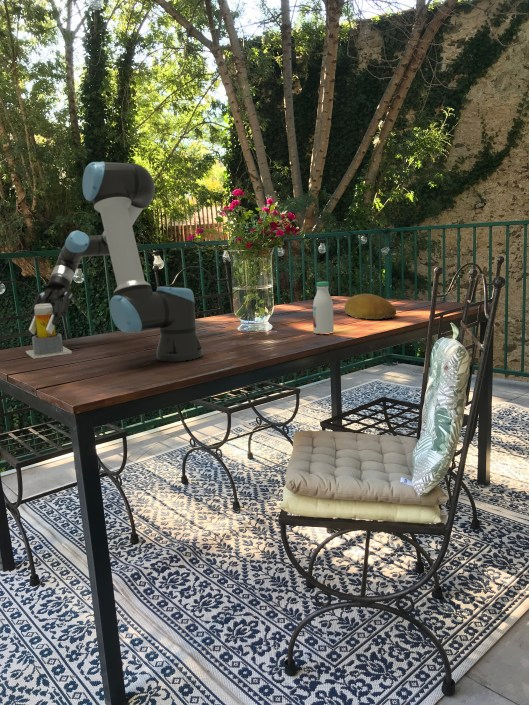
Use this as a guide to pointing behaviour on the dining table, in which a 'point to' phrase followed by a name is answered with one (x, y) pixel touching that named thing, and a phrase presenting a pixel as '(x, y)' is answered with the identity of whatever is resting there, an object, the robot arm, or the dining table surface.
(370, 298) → the bread
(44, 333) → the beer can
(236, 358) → the dining table surface
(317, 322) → the milk bottle
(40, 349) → the grey can holder
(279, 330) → the dining table surface
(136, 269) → the robot arm
